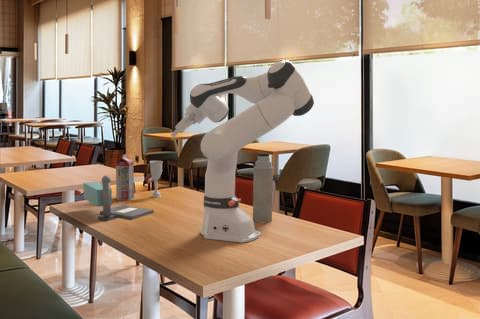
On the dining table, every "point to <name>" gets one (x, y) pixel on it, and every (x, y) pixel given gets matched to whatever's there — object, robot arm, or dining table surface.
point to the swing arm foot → (106, 218)
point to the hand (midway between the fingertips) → (172, 136)
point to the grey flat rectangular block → (129, 212)
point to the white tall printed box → (124, 178)
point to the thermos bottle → (262, 189)
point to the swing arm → (99, 194)
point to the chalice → (156, 175)
